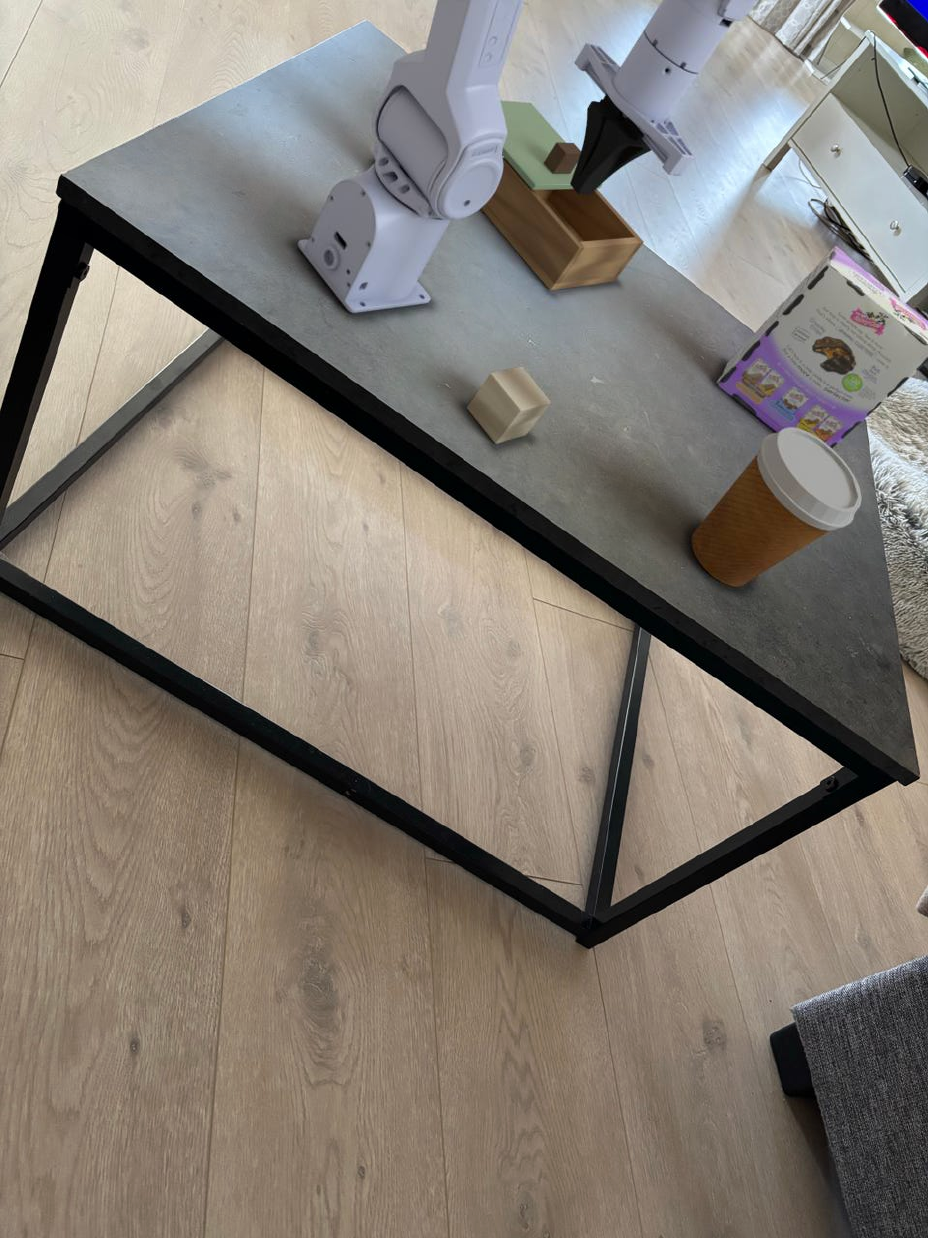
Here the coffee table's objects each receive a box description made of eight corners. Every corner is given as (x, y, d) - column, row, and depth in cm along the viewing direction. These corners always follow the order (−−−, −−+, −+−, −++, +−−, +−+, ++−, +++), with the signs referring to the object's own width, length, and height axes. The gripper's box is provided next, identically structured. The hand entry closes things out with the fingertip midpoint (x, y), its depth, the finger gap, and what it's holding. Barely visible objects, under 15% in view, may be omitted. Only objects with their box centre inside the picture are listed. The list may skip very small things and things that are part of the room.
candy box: (821, 440, 107) (943, 330, 95) (814, 465, 103) (941, 353, 91) (725, 362, 106) (837, 241, 95) (714, 384, 102) (829, 260, 90)
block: (495, 444, 78) (521, 410, 75) (466, 407, 78) (490, 372, 76) (526, 435, 80) (551, 402, 78) (497, 399, 81) (522, 365, 78)
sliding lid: (532, 190, 94) (549, 163, 91) (456, 101, 96) (470, 73, 94) (599, 188, 101) (616, 163, 99) (528, 107, 104) (542, 81, 102)
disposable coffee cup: (745, 621, 81) (853, 536, 73) (660, 544, 81) (758, 450, 73) (774, 568, 88) (876, 484, 79) (696, 497, 88) (789, 406, 80)
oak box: (550, 290, 96) (579, 247, 92) (475, 202, 98) (501, 156, 95) (614, 281, 104) (644, 241, 100) (543, 199, 106) (570, 158, 103)
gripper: (749, 114, 81) (650, 245, 90) (649, 3, 85) (564, 139, 94) (703, 104, 76) (604, 243, 86) (600, -13, 80) (516, 132, 90)
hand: (580, 189), depth 90 cm, fingers closed
